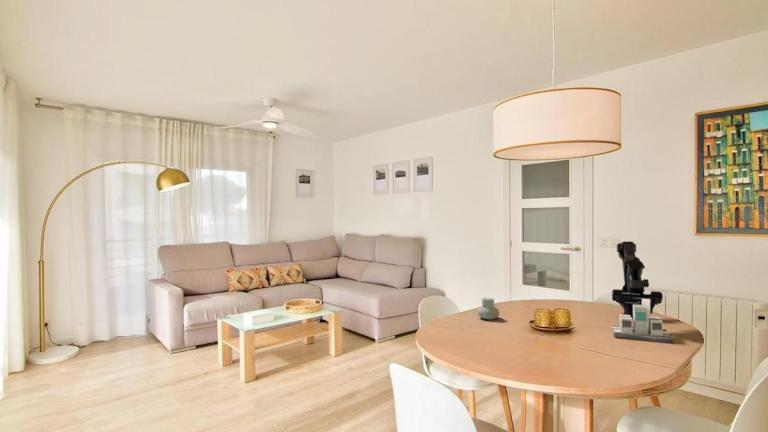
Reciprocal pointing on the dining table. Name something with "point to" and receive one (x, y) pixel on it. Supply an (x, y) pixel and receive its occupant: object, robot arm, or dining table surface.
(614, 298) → the robot arm
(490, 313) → the air freshener
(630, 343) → the dining table surface
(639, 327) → the block
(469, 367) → the dining table surface
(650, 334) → the rail board
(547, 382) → the dining table surface
